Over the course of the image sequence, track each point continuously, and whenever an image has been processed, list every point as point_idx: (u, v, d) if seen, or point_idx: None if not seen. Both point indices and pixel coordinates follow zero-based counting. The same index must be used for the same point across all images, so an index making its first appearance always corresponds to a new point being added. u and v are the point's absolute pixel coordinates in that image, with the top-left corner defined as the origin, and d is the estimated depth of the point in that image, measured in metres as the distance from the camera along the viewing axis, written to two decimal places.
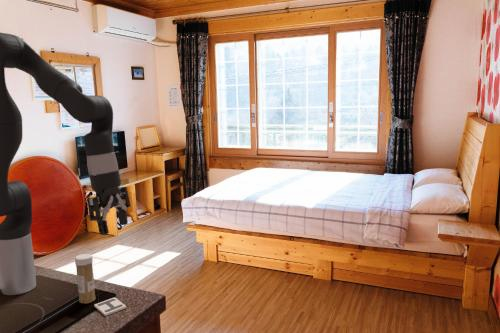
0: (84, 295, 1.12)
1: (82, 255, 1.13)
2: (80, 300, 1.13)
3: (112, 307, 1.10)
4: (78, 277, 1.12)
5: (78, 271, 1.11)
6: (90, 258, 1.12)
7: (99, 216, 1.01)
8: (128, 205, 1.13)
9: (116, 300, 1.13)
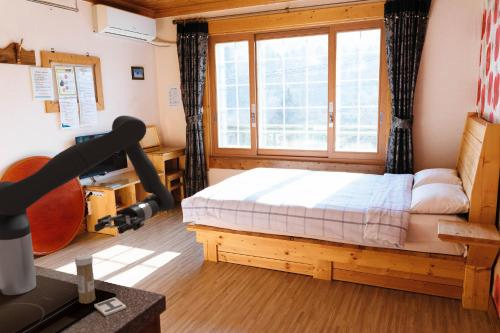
0: (84, 295, 1.12)
1: (82, 255, 1.13)
2: (80, 300, 1.13)
3: (112, 307, 1.10)
4: (78, 277, 1.12)
5: (78, 271, 1.11)
6: (90, 258, 1.12)
7: None
8: None
9: (116, 300, 1.13)
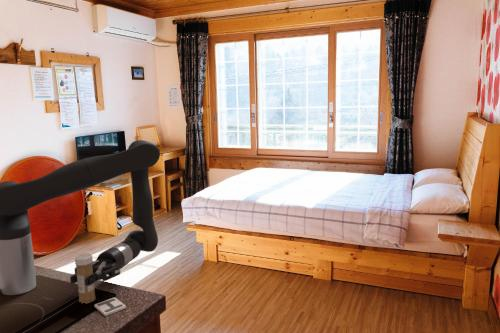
0: (84, 294, 1.12)
1: (82, 255, 1.13)
2: (80, 300, 1.13)
3: (112, 307, 1.10)
4: (78, 277, 1.12)
5: (78, 271, 1.11)
6: (90, 258, 1.12)
7: None
8: None
9: (116, 300, 1.13)
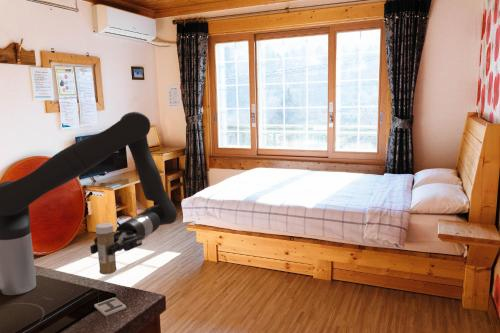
0: (105, 265, 1.07)
1: (103, 224, 1.07)
2: (101, 271, 1.07)
3: (112, 307, 1.10)
4: (99, 246, 1.06)
5: (99, 240, 1.06)
6: (111, 226, 1.06)
7: None
8: None
9: (116, 300, 1.13)
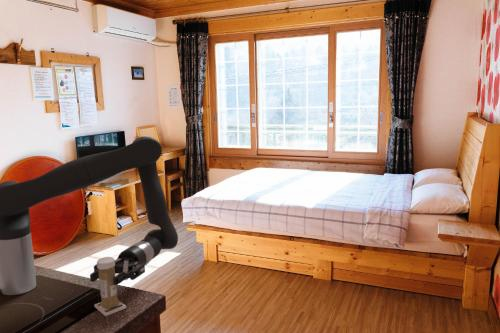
0: (107, 299, 1.08)
1: (104, 258, 1.09)
2: (103, 305, 1.09)
3: None
4: (100, 281, 1.08)
5: (100, 275, 1.07)
6: (112, 261, 1.08)
7: None
8: None
9: None
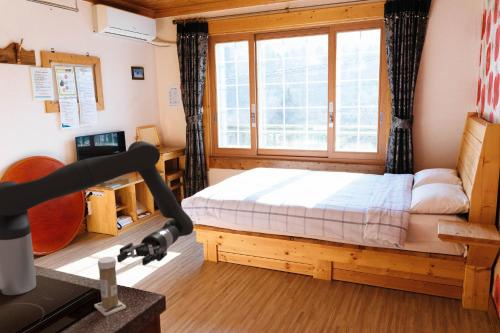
0: (108, 299, 1.08)
1: (105, 258, 1.09)
2: (103, 305, 1.09)
3: None
4: (101, 281, 1.08)
5: (101, 275, 1.07)
6: (113, 261, 1.08)
7: None
8: None
9: None
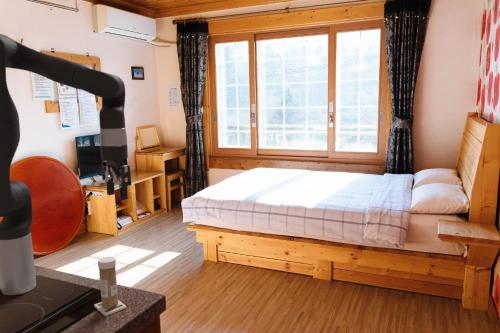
0: (108, 299, 1.08)
1: (105, 258, 1.09)
2: (103, 305, 1.09)
3: None
4: (101, 281, 1.08)
5: (101, 275, 1.07)
6: (113, 261, 1.08)
7: None
8: None
9: None
